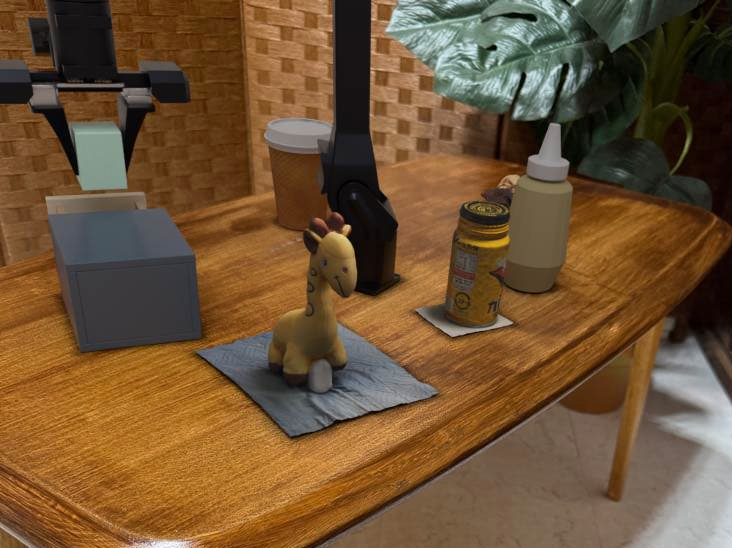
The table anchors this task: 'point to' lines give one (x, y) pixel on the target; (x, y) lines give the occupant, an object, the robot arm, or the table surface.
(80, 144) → the block
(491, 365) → the table surface
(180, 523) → the table surface
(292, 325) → the stuffed giraffe
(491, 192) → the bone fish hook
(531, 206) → the squeeze bottle
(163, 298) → the cabinet
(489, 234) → the condiment
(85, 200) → the drawer
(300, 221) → the disposable coffee cup
